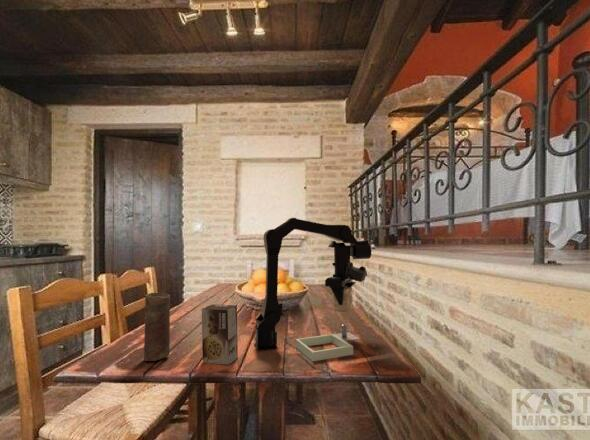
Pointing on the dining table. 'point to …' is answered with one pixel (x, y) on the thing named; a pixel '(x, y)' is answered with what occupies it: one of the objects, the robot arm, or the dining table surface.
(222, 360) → the coffee box
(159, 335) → the candle
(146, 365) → the dining table surface
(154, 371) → the dining table surface
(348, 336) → the stud block
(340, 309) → the tan rectangular block
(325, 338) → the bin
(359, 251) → the robot arm
